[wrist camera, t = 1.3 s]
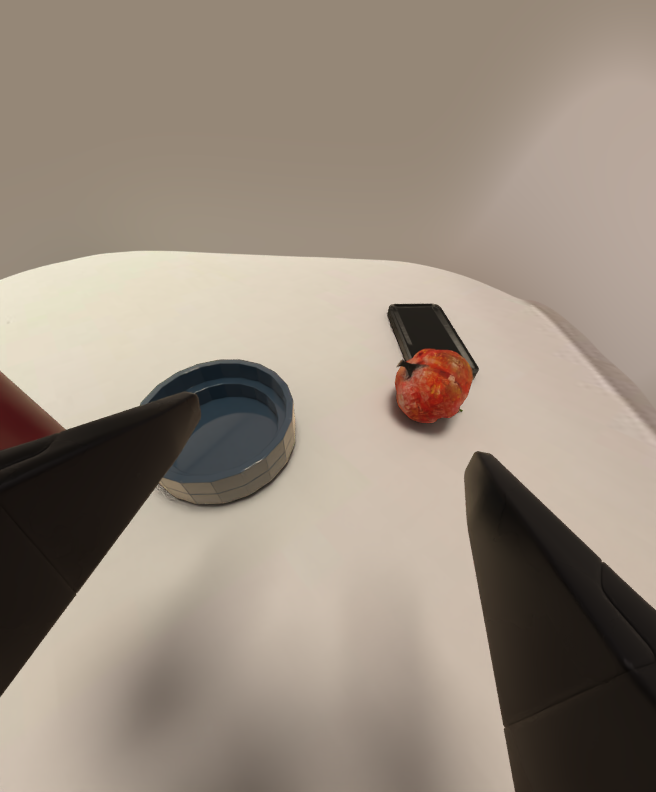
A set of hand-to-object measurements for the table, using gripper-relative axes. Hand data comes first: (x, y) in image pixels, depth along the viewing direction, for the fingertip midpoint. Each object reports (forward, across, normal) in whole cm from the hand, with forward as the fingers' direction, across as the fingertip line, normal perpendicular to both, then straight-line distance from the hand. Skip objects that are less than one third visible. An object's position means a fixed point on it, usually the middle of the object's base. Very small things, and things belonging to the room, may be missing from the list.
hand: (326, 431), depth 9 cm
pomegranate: (+20, -8, +11) cm, 24 cm away
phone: (+31, -8, +8) cm, 33 cm away
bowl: (+12, +11, +13) cm, 21 cm away
